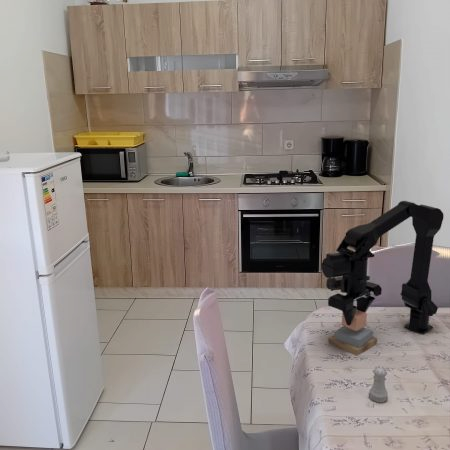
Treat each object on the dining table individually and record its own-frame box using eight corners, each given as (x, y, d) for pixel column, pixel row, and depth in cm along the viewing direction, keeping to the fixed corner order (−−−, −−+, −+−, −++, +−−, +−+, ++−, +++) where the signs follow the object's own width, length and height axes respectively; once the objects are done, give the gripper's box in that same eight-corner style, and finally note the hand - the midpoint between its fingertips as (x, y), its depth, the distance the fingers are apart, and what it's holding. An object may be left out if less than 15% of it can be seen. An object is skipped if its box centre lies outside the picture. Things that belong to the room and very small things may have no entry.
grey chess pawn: (388, 404, 112) (391, 374, 110) (369, 402, 113) (371, 372, 111) (386, 393, 116) (388, 364, 114) (367, 391, 117) (369, 362, 115)
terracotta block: (351, 320, 143) (352, 307, 142) (366, 325, 139) (366, 313, 138) (341, 325, 139) (342, 312, 138) (356, 331, 136) (356, 318, 135)
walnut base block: (348, 334, 148) (348, 327, 147) (376, 346, 140) (377, 339, 140) (328, 345, 141) (328, 337, 141) (356, 358, 134) (357, 350, 133)
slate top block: (348, 329, 145) (348, 322, 145) (372, 338, 140) (372, 330, 139) (334, 339, 140) (334, 331, 139) (359, 348, 134) (359, 340, 134)
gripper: (352, 259, 147) (349, 305, 151) (313, 273, 135) (312, 322, 139) (384, 267, 138) (380, 316, 142) (346, 283, 127) (343, 336, 131)
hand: (353, 322), depth 139 cm, fingers closed on terracotta block, 5 cm apart
